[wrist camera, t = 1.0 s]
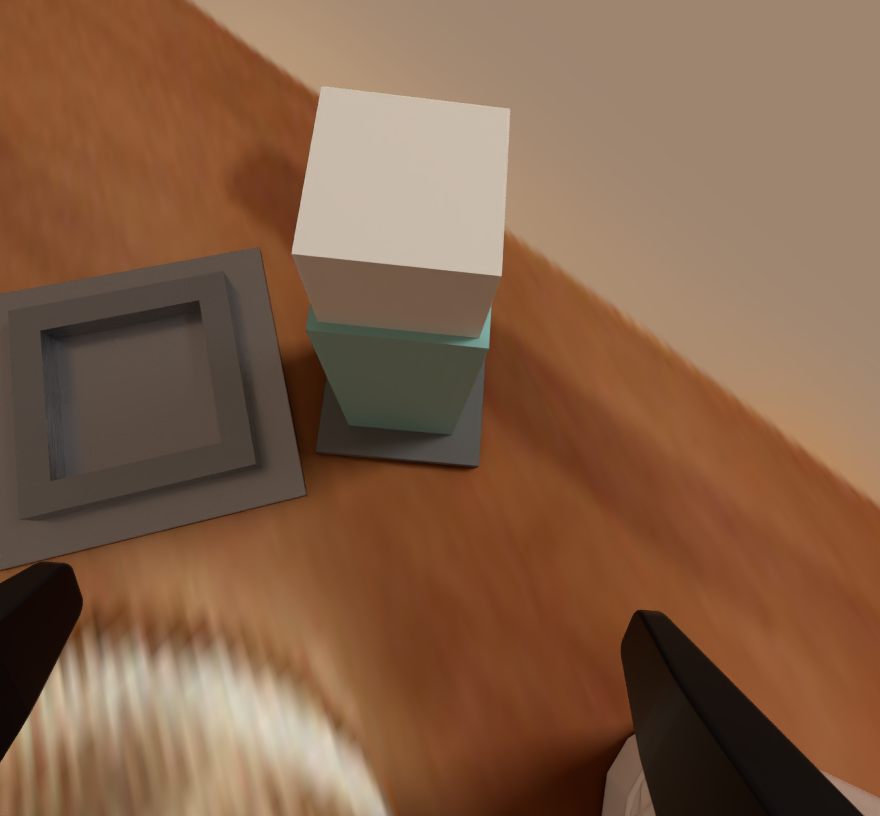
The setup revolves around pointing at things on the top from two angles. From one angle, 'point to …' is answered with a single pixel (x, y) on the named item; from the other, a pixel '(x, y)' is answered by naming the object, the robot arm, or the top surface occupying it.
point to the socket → (140, 405)
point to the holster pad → (404, 435)
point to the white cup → (631, 802)
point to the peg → (402, 252)
